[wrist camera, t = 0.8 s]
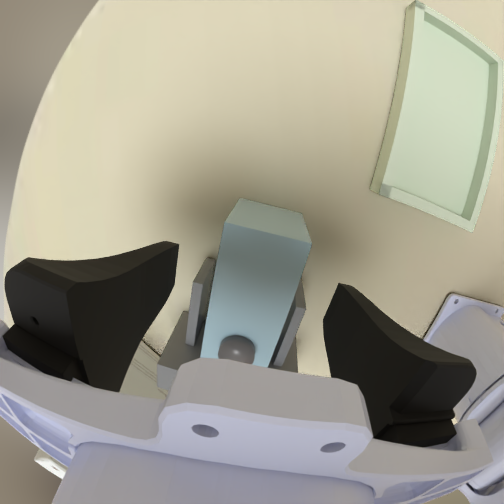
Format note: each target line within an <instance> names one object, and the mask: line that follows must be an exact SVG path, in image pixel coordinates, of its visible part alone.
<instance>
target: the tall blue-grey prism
mask: <svg viewBox="0 0 504 504" xmlns="http://www.w3.org/2000/svg"><path fill="white" fill-rule="evenodd" d="M311 246H312V242H311V239H310V236H309V233H308V230H307V227H306V224H305V221H304V218H303V215H302V213H299V212H295V211H291V210H287V209H283V208H279V207H275V206H271V205H267V204H263V203H259V202H255V201H251V200H246V199H242V198H240V199H239V200H238V202H237V203H236V205H235V206H234V208H233V210H232V211H231V213H230V214H229V216H228V217H227V219H226V221H225V222H224V227H223V232H222V237H221V242H220V248H219V253H218V258H217V263H216V269H215V274H214V279H213V285H212V290H211V296H210V302H209V308H208V313H207V319H206V325H205V331H204V337H203V343H202V350H201V356H200V358H216V359H229V360H233V361H238V362H242V363H247V364H252V365H256V366H261V367H268V365H269V362H270V360H271V357H272V355H273V352H274V350H275V347H276V345H277V342H278V339H279V337H280V334H281V331H282V329H283V326H284V323H285V321H286V318H287V315H288V313H289V310H290V307H291V304H292V301H293V299H294V296H295V293H296V290H297V287H298V284H299V282H300V279H301V276H302V273H303V270H304V267H305V264H306V261H307V258H308V255H309V252H310V249H311Z"/></svg>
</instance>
